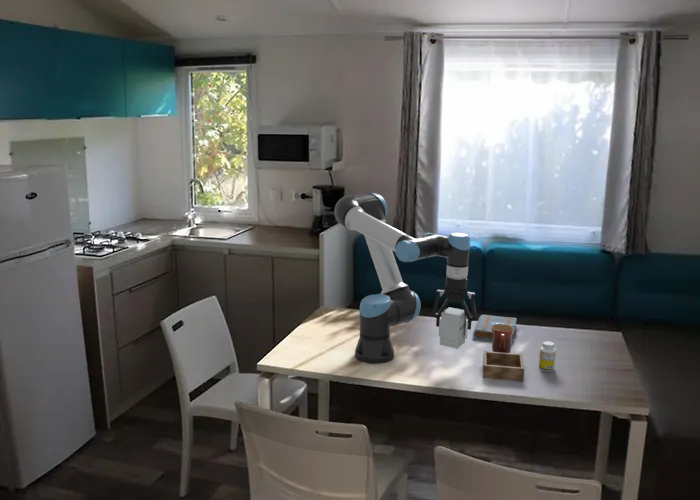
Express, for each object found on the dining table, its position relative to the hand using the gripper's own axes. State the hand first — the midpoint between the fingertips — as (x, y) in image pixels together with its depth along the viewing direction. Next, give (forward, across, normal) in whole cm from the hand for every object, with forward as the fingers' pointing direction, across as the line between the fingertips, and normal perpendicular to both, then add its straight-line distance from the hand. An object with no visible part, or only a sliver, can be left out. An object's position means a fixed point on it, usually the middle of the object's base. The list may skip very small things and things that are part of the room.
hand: (452, 336), depth 241 cm
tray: (+12, +19, 0) cm, 22 cm away
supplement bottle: (+12, +35, +6) cm, 37 cm away
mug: (+13, +19, +18) cm, 29 cm away
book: (+14, +17, +43) cm, 49 cm away
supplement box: (+3, 0, 0) cm, 3 cm away
